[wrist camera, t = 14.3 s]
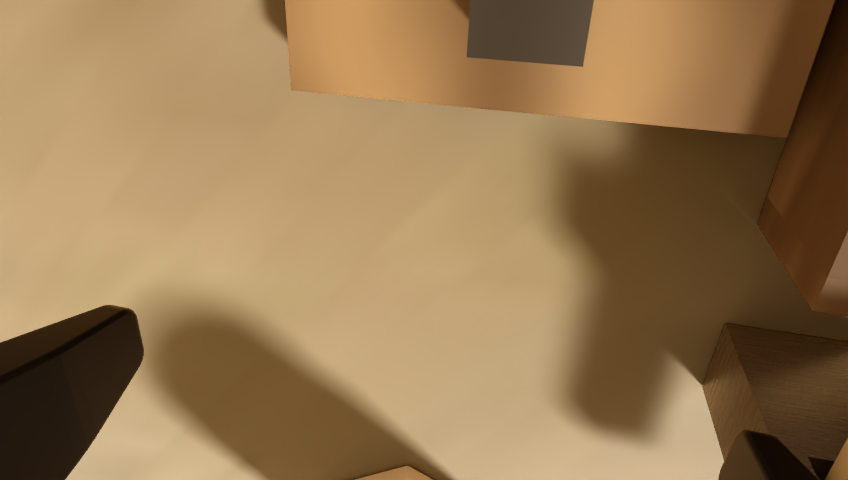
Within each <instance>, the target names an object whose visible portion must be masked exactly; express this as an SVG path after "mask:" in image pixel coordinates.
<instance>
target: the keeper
mask: <svg viewBox="0 0 848 480" xmlns="http://www.w3.org/2000/svg"><path fill="white" fill-rule="evenodd" d="M702 387H703V391H704V394H705V397H706V401H707V404H708V407H709V411H710V414H711V418H712V421H713V424H714V428H715V431H716V434H717V438H718V441H719V445H720V448H721V451H722V455H723V458H724V461H725V459H726V457H727V454H728V452H729V450H730V448H731V445H732V443H733V441H734V439H735V437H736V435H737V434H738V433H739V432H740V431H742V430H750V431H755V432H761V433H766V434H770V435H773V436H775V437H777V438H778V439H779V440H780V441H781V442H782V443H783V444H784V445H785V446H786V447H787V448H788V449H789V450H790V451H791V452H792V453H793V454H794V455H795V456H796V457H797V458H798V459H799V460H800V461H801V462H802V463H803V464H804V465H805V466H806V467H807V468H808V469H809V470H810V471H811V472H812V473H813V474H814V475H815V476H816V477H817V478H818V479H819V480H825V479H826V477H827V475H828V473H829V471H830V469H831V468H832V466H833V464H834V462H835V460H836V458H837V457H838V455H839V453H840V451H841V449H842V447H843V446H844V444H845V442H846V440H847V438H848V342H846V341H840V340H833V339H826V338H820V337H813V336H806V335H800V334H793V333H786V332H779V331H773V330H766V329H759V328H753V327H746V326H739V325H733V324H726V323H725V324H724V327H723V330H722V333H721V335H720V338H719V341H718V344H717V347H716V349H715V352H714V355H713V358H712V361H711V363H710V366H709V369H708V372H707V375H706V377H705V380H704V383H703V386H702Z"/></svg>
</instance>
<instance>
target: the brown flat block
mask: <svg viewBox="0 0 848 480" xmlns="http://www.w3.org/2000/svg"><path fill="white" fill-rule="evenodd" d="M757 225H758V226H759V228H760V230H761V231H762V233H763V234H764V236H765V237H766V239H767V240H768V242H769V244H770V245H771V247H772V248H773V250H774V251H775V253H776V255H777V256H778V258H779V259H780V261H781V262H782V264H783V266H784V267H785V269H786V270H787V272H788V273H789V275H790V276H791V278H792V280H793V281H794V283H795V284H796V286H797V287H798V289H799V291H800V292H801V294H802V295H803V297H804V298H805V300H806V301H807V303H808V305H809V306H810V308H811V309H812V311H816V312H823V313H830V314H837V315H844V316H848V0H836V2H835V5H834V8H833V10H832V13H831V16H830V19H829V22H828V25H827V27H826V30H825V33H824V36H823V39H822V42H821V44H820V47H819V50H818V53H817V56H816V58H815V61H814V64H813V67H812V70H811V73H810V75H809V78H808V81H807V84H806V87H805V90H804V92H803V95H802V98H801V101H800V104H799V106H798V109H797V112H796V115H795V118H794V121H793V123H792V126H791V129H790V132H789V135H788V138H787V140H786V143H785V146H784V149H783V152H782V154H781V157H780V160H779V163H778V166H777V169H776V171H775V174H774V177H773V180H772V183H771V186H770V188H769V191H768V194H767V197H766V200H765V202H764V205H763V208H762V211H761V214H760V217H759V219H758V222H757Z"/></svg>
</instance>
